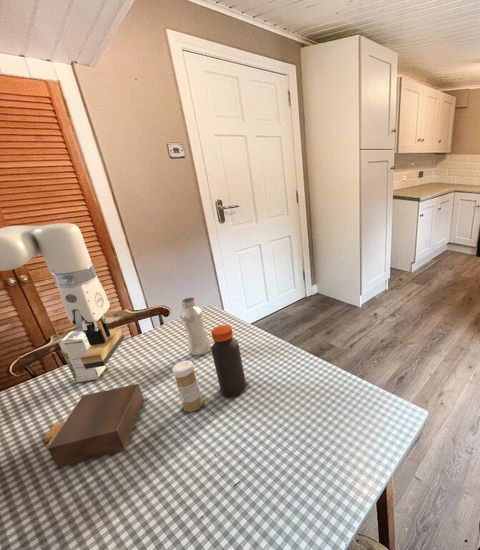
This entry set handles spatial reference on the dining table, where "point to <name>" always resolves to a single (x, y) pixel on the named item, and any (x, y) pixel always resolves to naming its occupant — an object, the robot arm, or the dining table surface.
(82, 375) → the syrup box
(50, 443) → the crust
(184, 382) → the sprinkles bottle
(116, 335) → the brush
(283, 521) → the dining table surface
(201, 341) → the plastic bottle
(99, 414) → the brown box
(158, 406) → the dining table surface
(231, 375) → the vinegar
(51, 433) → the crust
